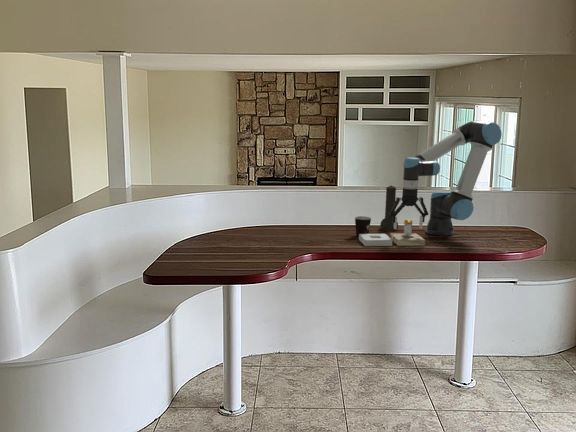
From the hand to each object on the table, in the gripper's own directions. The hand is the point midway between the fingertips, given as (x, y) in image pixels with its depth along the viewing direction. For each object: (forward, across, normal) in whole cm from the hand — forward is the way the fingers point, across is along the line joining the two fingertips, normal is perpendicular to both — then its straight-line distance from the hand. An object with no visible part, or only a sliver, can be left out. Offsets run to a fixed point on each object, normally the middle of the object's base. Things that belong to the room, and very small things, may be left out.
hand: (407, 228), depth 329 cm
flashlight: (+7, -1, +31) cm, 32 cm away
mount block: (+7, -17, 0) cm, 18 cm away
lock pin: (+7, 0, 0) cm, 7 cm away
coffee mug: (+7, -19, +15) cm, 25 cm away
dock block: (+7, 0, 0) cm, 7 cm away
